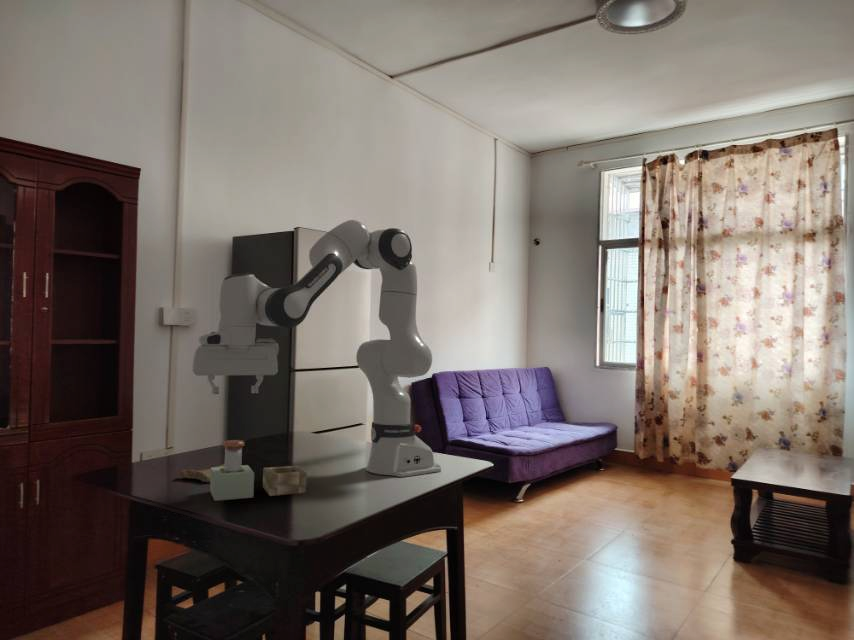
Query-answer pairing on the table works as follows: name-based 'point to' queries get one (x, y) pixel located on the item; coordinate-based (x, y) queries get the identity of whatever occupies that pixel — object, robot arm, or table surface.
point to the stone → (197, 474)
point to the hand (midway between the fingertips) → (235, 393)
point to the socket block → (232, 483)
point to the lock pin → (233, 455)
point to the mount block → (284, 480)
